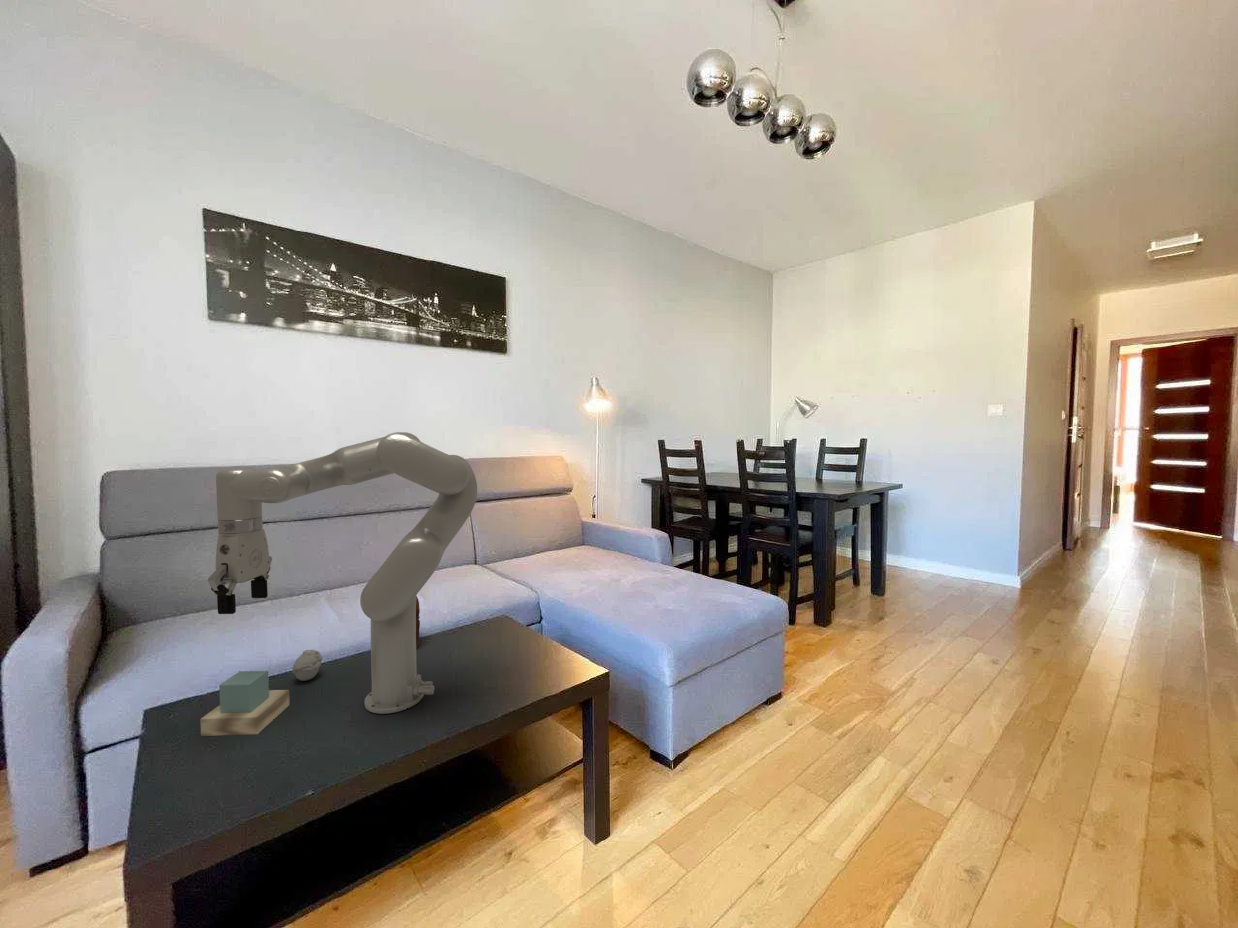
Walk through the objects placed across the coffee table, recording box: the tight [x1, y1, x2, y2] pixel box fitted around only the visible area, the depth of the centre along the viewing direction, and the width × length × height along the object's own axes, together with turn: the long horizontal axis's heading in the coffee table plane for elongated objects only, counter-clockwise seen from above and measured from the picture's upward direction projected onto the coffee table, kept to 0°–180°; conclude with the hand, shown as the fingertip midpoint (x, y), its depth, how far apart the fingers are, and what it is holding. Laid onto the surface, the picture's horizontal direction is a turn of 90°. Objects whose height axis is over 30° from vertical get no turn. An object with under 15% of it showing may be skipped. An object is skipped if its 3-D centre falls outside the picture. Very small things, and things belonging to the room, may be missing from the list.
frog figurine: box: [291, 649, 323, 682], centre depth 124 cm, size 6×7×7 cm
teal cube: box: [218, 670, 270, 713], centre depth 105 cm, size 6×6×6 cm
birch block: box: [199, 689, 291, 737], centre depth 106 cm, size 11×11×4 cm
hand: (244, 605), depth 106 cm, fingers open, 9 cm apart
